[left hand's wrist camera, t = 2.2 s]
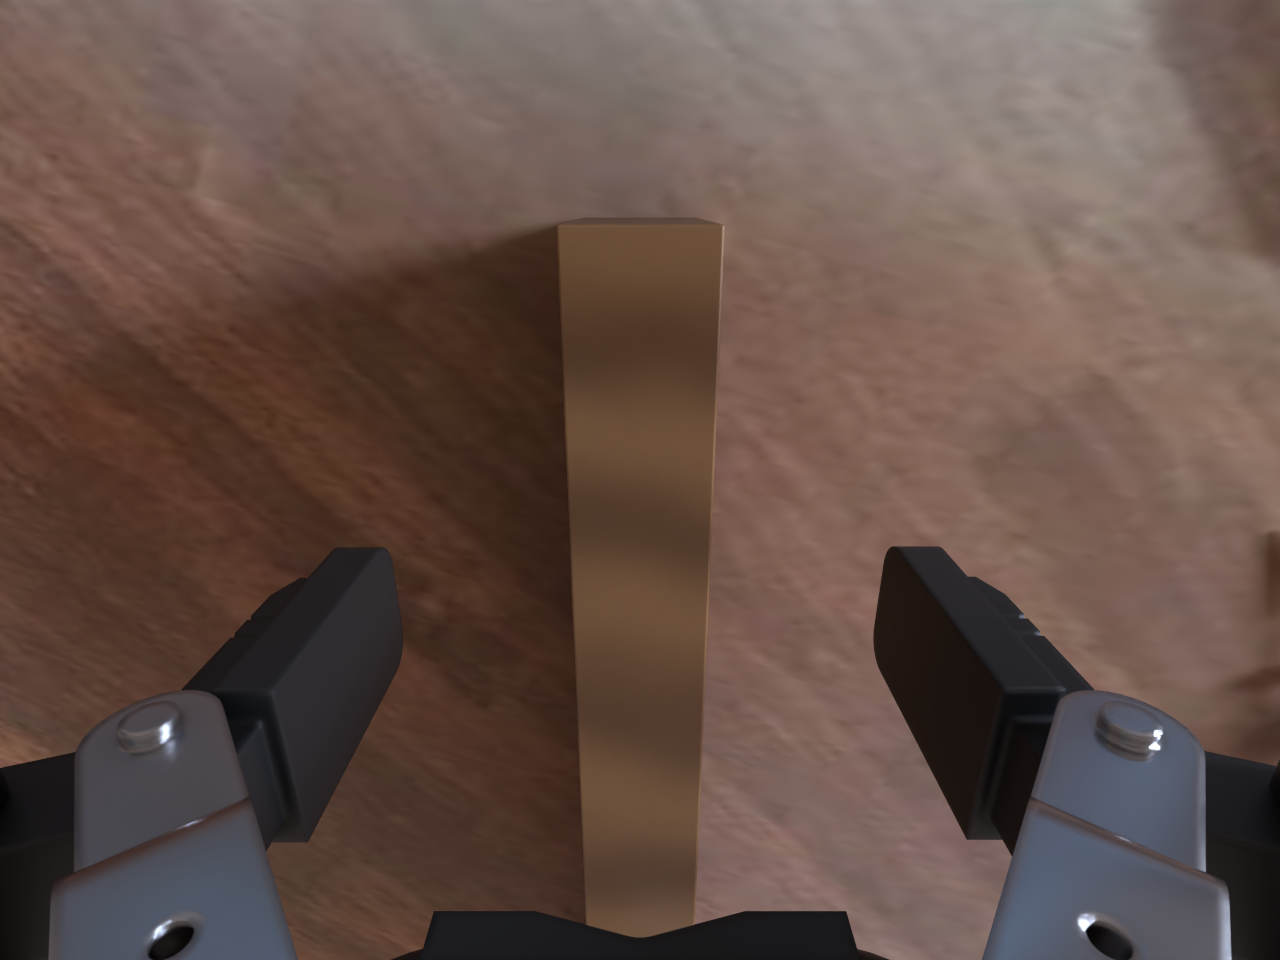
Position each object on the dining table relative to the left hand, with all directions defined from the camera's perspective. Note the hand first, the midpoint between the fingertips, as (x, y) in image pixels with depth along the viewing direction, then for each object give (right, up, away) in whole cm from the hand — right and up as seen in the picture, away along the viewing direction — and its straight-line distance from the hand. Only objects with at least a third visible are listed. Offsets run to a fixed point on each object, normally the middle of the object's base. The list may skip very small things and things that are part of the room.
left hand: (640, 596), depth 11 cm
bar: (0, -15, +25) cm, 29 cm away
